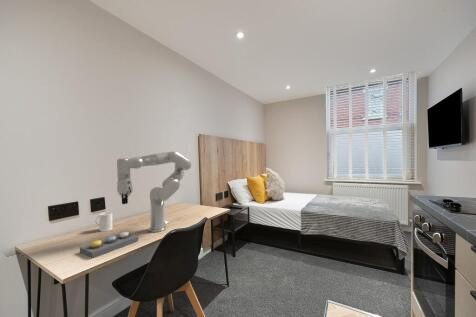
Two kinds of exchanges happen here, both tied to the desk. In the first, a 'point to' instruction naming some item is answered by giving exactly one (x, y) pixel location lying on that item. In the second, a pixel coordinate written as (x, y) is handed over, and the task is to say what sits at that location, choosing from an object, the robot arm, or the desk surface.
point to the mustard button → (96, 243)
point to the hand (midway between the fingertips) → (124, 203)
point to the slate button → (110, 238)
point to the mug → (105, 221)
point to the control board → (108, 246)
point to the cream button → (124, 234)
